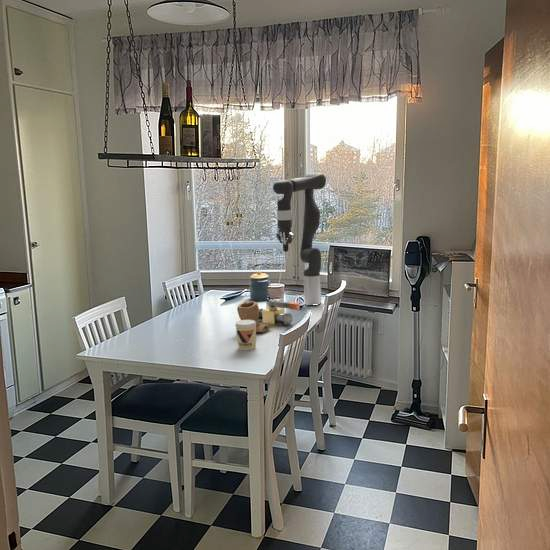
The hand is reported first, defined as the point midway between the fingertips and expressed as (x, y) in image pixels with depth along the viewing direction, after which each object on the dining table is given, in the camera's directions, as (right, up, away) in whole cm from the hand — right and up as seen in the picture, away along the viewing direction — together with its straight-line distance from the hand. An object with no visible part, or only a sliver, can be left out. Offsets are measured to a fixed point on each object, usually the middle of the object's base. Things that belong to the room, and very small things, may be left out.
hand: (285, 251), depth 307 cm
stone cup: (-17, -41, -22) cm, 49 cm away
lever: (-1, -29, -12) cm, 32 cm away
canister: (-15, -27, +47) cm, 57 cm away
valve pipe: (-7, -37, -7) cm, 39 cm away
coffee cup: (-18, -46, -46) cm, 68 cm away
